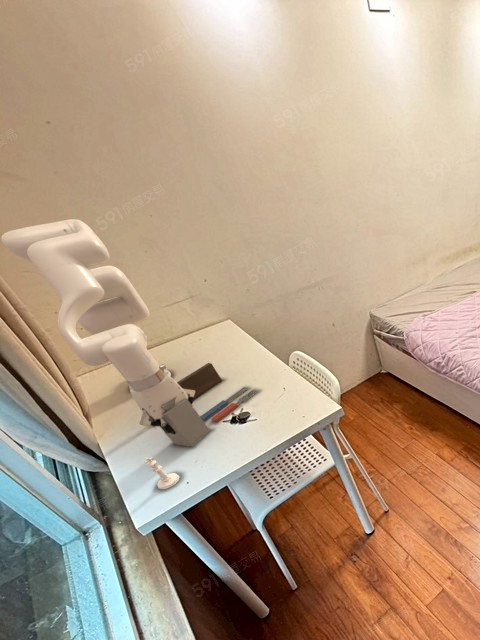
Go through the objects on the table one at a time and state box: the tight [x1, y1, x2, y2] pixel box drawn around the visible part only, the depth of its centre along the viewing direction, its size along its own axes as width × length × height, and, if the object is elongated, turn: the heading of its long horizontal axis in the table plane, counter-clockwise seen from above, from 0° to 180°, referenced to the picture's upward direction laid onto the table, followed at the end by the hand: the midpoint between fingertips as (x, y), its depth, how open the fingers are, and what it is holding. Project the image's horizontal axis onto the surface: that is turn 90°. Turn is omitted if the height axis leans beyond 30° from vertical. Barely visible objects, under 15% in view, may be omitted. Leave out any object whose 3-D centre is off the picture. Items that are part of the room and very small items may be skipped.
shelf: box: [149, 362, 223, 421], centre depth 131 cm, size 5×24×8 cm, turn 159°
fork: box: [210, 389, 259, 423], centre depth 130 cm, size 3×16×1 cm, turn 159°
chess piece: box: [144, 456, 180, 490], centre depth 103 cm, size 5×5×10 cm
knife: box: [199, 387, 249, 422], centre depth 131 cm, size 2×17×1 cm, turn 159°
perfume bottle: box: [152, 396, 211, 448], centre depth 114 cm, size 7×7×18 cm
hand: (182, 424), depth 116 cm, fingers closed on perfume bottle, 6 cm apart
